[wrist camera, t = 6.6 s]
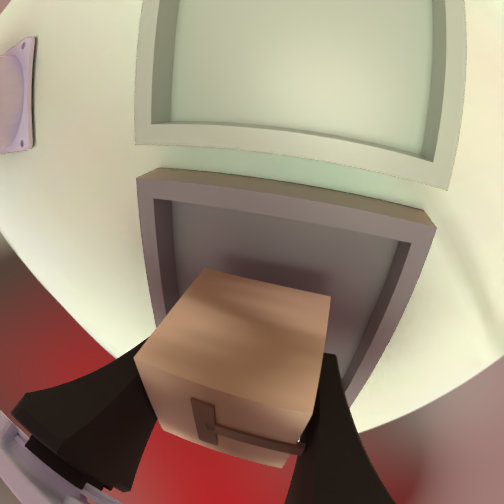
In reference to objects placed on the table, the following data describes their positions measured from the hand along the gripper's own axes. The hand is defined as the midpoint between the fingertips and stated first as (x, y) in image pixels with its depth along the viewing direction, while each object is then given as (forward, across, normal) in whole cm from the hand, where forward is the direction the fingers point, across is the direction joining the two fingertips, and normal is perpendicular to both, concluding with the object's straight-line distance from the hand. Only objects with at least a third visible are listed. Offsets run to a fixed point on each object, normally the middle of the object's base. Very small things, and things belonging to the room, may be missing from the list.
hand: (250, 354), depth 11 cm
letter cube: (+2, 0, 0) cm, 2 cm away
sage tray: (+4, 0, -13) cm, 14 cm away
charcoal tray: (+4, 0, 0) cm, 4 cm away
